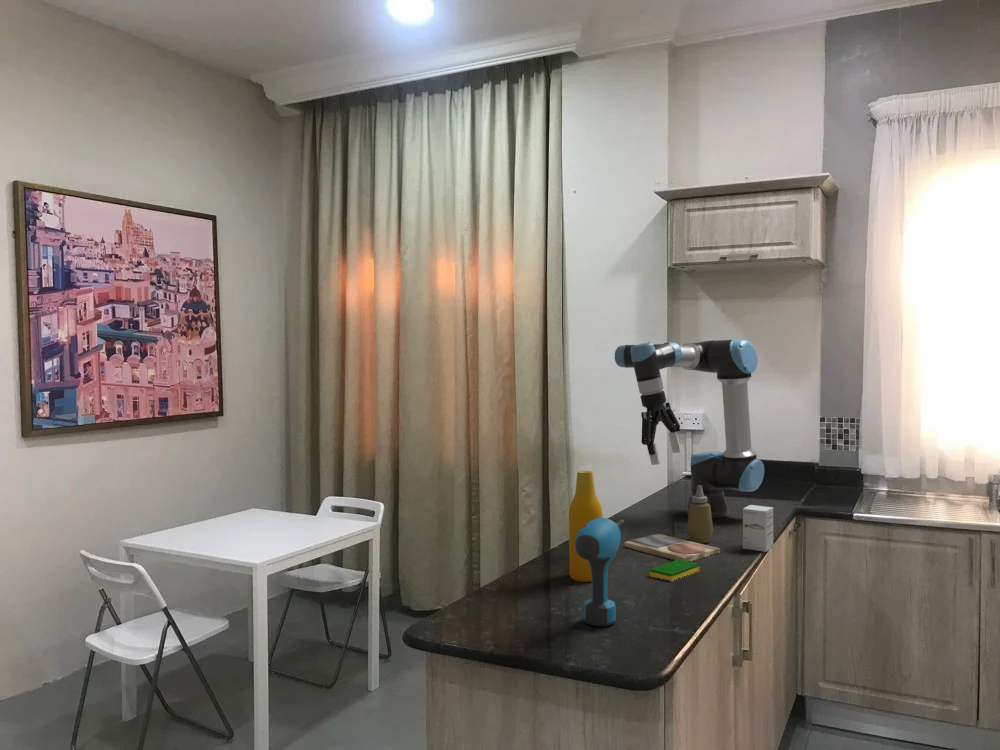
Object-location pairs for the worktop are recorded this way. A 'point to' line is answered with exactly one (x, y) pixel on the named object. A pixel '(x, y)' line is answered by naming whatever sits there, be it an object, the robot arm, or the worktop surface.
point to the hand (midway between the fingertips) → (666, 458)
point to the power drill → (599, 566)
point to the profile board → (672, 547)
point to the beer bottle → (582, 522)
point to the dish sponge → (674, 570)
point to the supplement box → (758, 528)
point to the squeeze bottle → (700, 518)
